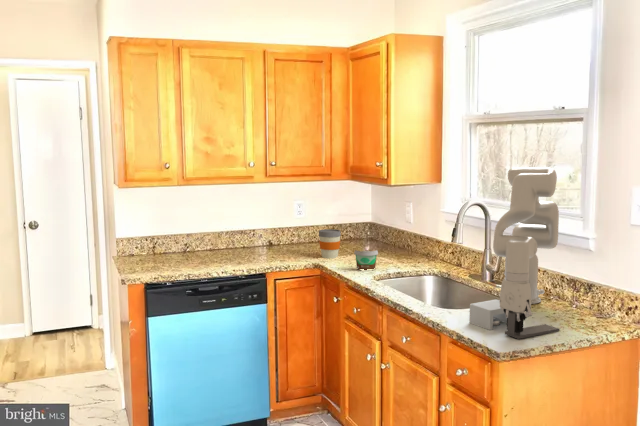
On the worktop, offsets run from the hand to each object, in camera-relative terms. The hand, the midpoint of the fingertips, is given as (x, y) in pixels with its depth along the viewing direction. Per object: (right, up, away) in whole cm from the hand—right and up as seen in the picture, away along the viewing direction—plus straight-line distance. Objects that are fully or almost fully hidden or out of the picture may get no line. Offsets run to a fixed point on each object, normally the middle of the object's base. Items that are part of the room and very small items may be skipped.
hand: (514, 330), depth 209 cm
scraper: (+7, -2, +4) cm, 9 cm away
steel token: (-3, -1, +16) cm, 16 cm away
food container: (-42, +10, +108) cm, 116 cm away
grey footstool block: (-3, -1, +16) cm, 16 cm away
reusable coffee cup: (-60, +14, +144) cm, 156 cm away
